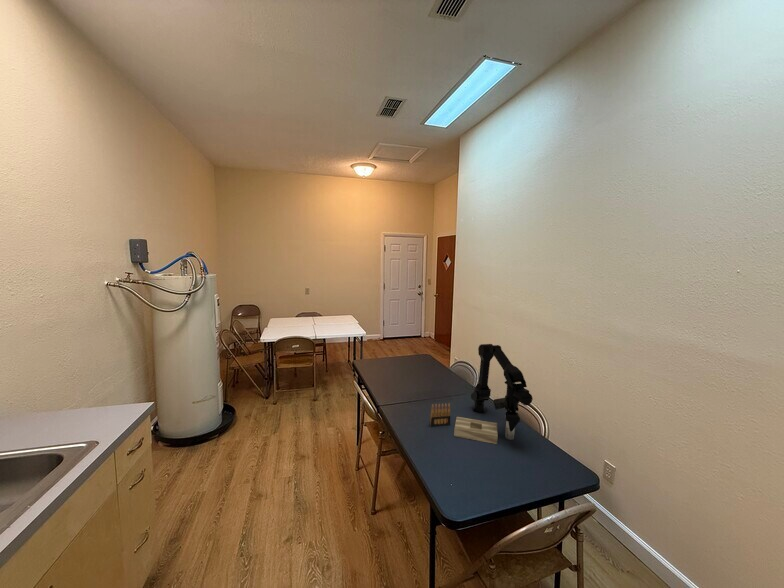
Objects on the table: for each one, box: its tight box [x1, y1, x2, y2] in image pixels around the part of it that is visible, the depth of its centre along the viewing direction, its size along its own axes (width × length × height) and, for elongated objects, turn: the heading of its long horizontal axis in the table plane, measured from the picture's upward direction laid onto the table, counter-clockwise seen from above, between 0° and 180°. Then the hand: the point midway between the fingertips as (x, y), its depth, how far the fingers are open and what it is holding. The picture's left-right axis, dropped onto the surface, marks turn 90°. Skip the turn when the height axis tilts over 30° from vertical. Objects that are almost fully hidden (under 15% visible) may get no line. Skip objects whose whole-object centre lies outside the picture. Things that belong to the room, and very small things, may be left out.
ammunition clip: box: [429, 402, 451, 428], centre depth 164 cm, size 11×2×12 cm, turn 100°
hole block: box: [453, 416, 499, 445], centre depth 158 cm, size 12×20×4 cm, turn 73°
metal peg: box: [504, 420, 516, 440], centre depth 155 cm, size 4×4×10 cm
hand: (510, 426), depth 155 cm, fingers open, 9 cm apart
